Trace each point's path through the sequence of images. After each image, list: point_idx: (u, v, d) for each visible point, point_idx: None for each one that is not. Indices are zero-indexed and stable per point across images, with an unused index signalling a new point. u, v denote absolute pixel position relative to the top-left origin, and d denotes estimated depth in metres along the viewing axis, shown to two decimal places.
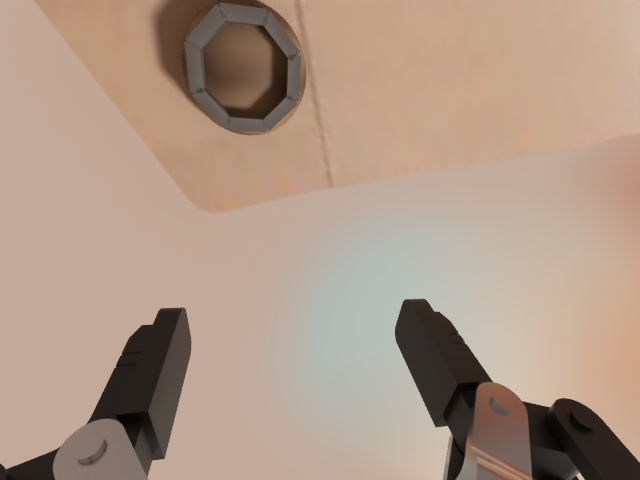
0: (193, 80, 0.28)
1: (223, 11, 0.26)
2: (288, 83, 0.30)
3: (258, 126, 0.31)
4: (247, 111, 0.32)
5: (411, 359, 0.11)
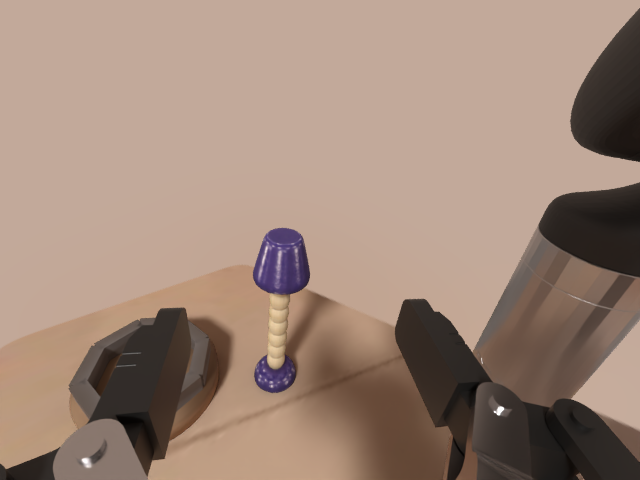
0: (150, 320, 0.31)
1: (202, 340, 0.30)
2: None
3: (80, 375, 0.26)
4: (107, 375, 0.28)
5: (411, 359, 0.11)
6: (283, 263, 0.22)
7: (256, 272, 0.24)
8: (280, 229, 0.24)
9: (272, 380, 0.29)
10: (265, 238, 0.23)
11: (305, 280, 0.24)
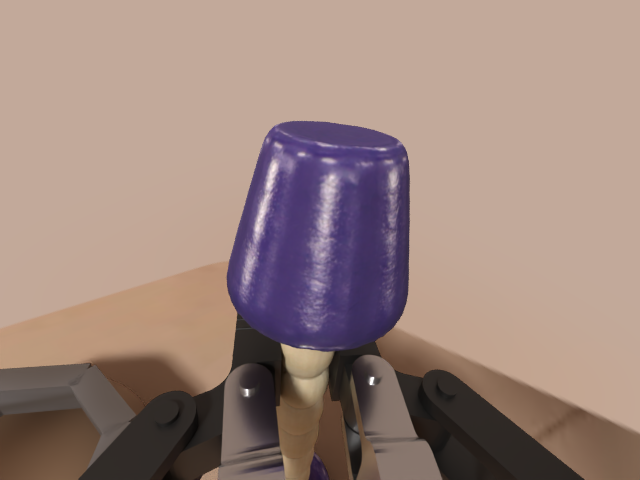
0: (16, 375, 0.14)
1: (119, 429, 0.13)
2: None
3: None
4: None
5: None
6: (343, 230, 0.05)
7: (235, 268, 0.07)
8: (318, 122, 0.07)
9: None
10: (268, 137, 0.06)
11: (404, 296, 0.07)
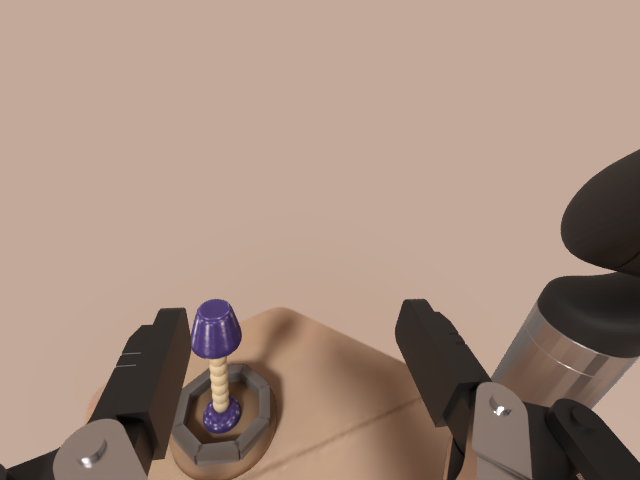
0: None
1: (264, 387, 0.37)
2: (214, 444, 0.31)
3: (177, 419, 0.33)
4: (192, 416, 0.35)
5: (411, 359, 0.11)
6: (211, 334, 0.26)
7: (191, 339, 0.27)
8: (212, 301, 0.28)
9: (216, 423, 0.33)
10: (197, 311, 0.27)
11: (234, 345, 0.28)
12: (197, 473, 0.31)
